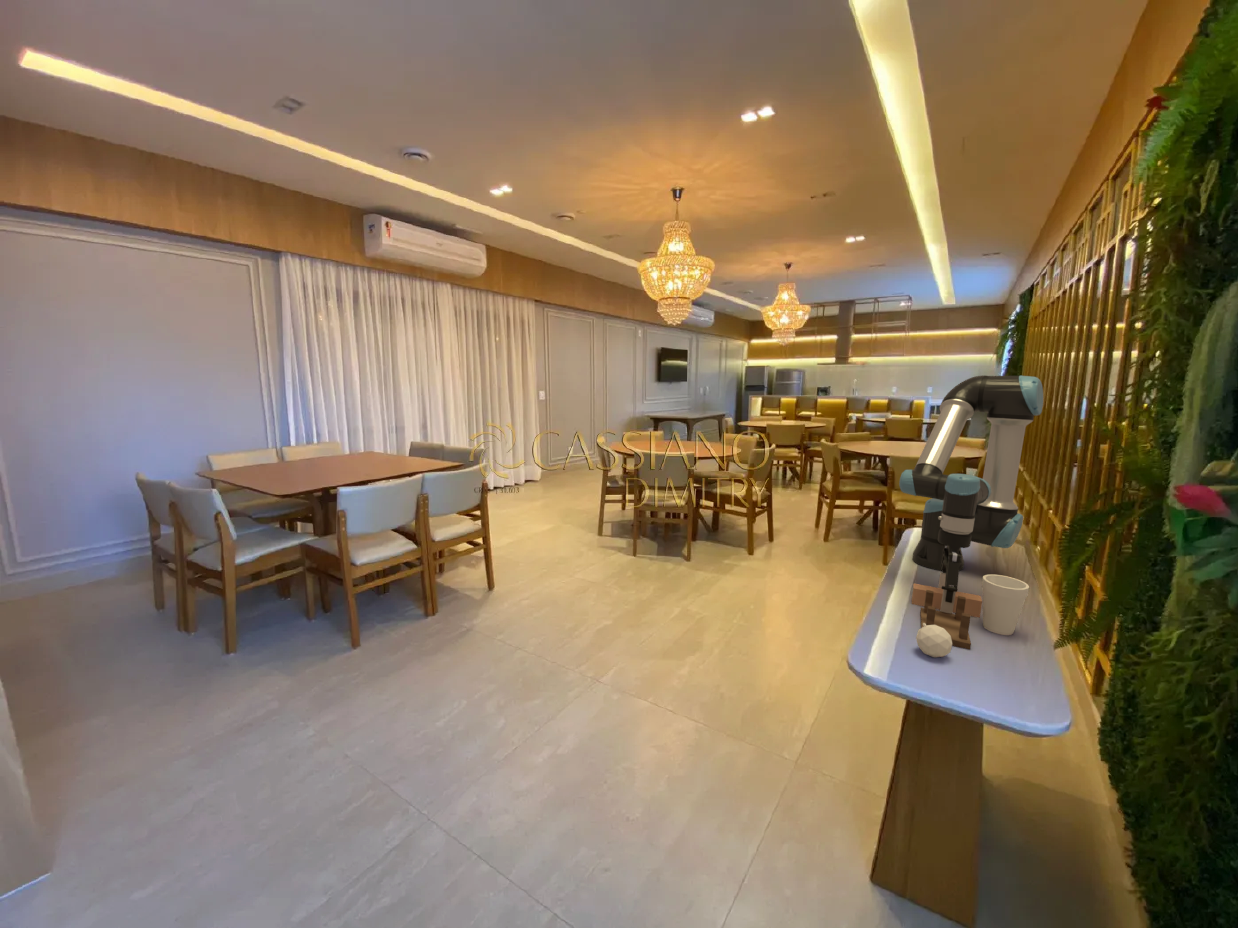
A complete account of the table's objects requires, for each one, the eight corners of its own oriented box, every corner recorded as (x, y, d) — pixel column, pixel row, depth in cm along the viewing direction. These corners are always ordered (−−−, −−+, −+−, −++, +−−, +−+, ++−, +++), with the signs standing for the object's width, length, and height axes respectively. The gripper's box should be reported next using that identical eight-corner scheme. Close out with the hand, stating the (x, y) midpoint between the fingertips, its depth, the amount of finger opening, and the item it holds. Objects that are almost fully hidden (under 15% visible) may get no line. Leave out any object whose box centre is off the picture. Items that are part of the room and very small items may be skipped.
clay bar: (911, 604, 143) (913, 588, 142) (911, 599, 147) (913, 583, 146) (979, 618, 135) (982, 601, 134) (977, 612, 139) (980, 595, 138)
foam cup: (1008, 641, 123) (1016, 592, 121) (968, 624, 131) (975, 578, 129) (1028, 632, 127) (1036, 585, 125) (988, 617, 136) (995, 572, 133)
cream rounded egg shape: (932, 664, 113) (912, 630, 115) (924, 659, 120) (905, 627, 122) (963, 653, 111) (942, 618, 114) (953, 648, 118) (934, 615, 121)
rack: (920, 612, 138) (923, 586, 136) (963, 621, 133) (967, 595, 132) (921, 638, 124) (925, 610, 123) (970, 649, 119) (974, 620, 118)
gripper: (936, 518, 149) (927, 585, 153) (942, 539, 128) (931, 616, 131) (966, 522, 146) (956, 590, 149) (978, 545, 124) (965, 624, 128)
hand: (944, 603), depth 140 cm, fingers open, 13 cm apart
